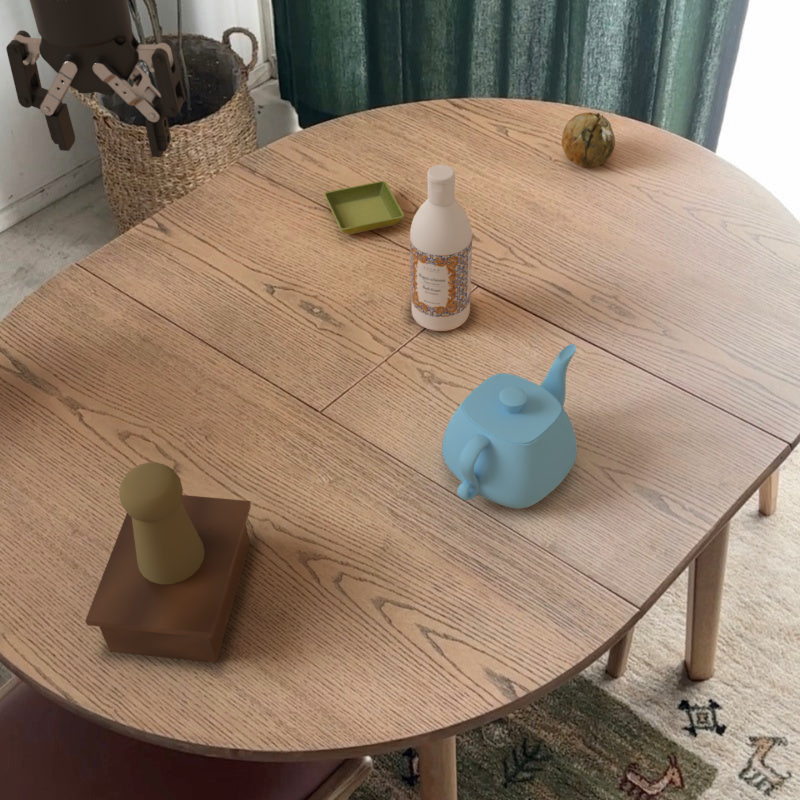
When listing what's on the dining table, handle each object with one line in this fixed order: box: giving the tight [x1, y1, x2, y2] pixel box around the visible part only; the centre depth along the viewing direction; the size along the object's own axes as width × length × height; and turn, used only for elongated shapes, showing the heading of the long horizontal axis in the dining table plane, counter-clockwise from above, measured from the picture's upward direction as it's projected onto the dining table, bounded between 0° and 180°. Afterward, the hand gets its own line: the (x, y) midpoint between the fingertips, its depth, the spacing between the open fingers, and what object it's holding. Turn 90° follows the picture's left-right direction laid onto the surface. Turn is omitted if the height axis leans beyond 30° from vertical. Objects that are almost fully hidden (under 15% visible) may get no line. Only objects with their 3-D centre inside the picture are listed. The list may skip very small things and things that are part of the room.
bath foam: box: [409, 164, 473, 332], centre depth 119 cm, size 7×7×20 cm
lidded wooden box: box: [84, 494, 252, 663], centre depth 98 cm, size 11×14×6 cm
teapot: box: [441, 343, 578, 509], centre depth 106 cm, size 13×11×18 cm
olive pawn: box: [118, 461, 205, 584], centre depth 92 cm, size 6×6×11 cm
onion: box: [560, 111, 616, 169], centre depth 145 cm, size 8×8×8 cm
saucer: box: [323, 180, 405, 235], centre depth 139 cm, size 9×9×2 cm
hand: (114, 149), depth 96 cm, fingers open, 8 cm apart
